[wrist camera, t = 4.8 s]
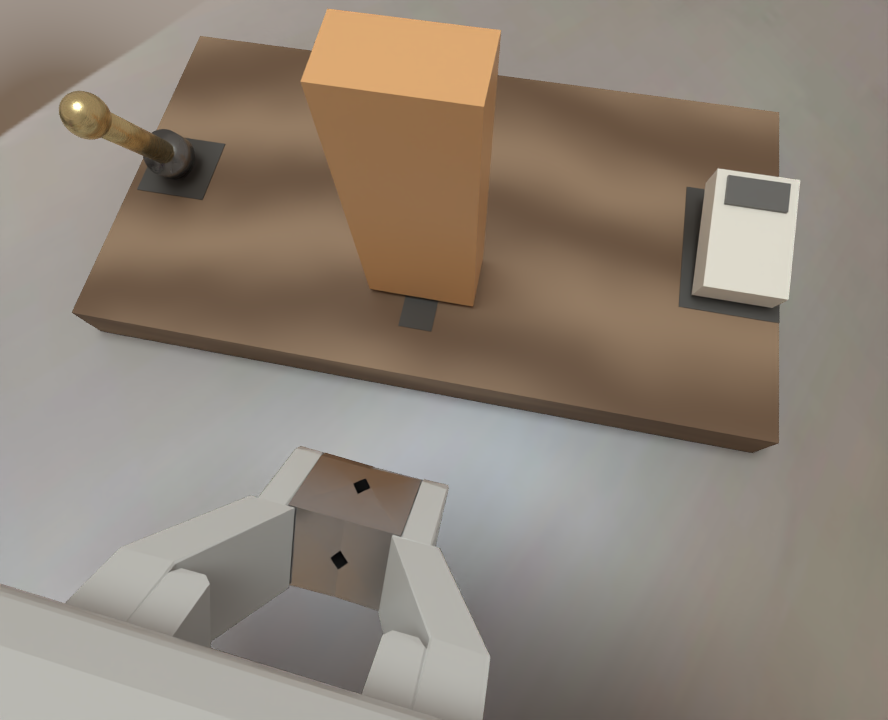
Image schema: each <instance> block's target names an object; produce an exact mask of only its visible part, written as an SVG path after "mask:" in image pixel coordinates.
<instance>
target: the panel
mask: <svg viewBox="0 0 888 720" xmlns="http://www.w3.org/2000/svg"><path fill="white" fill-rule="evenodd" d="M311 52H312V51H310V50H302V49H295V48H287V47H279V46H272V45H264V44H257V43H249V42H241V41H234V40H226V39H219V38H211V37H204V36H200V38H199V40H198V42H197V44H196V46H195V49H194V51H193V53H192V55H191V57H190V59H189V61H188V64H187V66H186V68H185V70H184V72H183V74H182V76H181V79H180V81H179V83H178V85H177V87H176V89H175V92H174V94H173V96H172V98H171V100H170V102H169V104H168V107H167V109H166V111H165V113H164V115H163V117H162V119H161V122H160V124H159V126H158V128H157V130H159V129H168V130H171V131H173V132H175V133H177V134H179V135H181V136H182V137H184V138H186V139H187V140H188V141H189V142H190V143H191V145H192V146H193V148H194V151H195V164H194V167H193V169H192V171H191V172H190V173H189V174H188V175H187V176H186V177H184V178H182V179H178V180H172V179H168V178H166V177H163V176H161V175H158V174H156V173H154V172H152V171H151V170H150V169H149V168H148V167H147V165H146V163H145V161H144V158H143V160H142V163H141V165H140V167H139V169H138V171H137V173H136V175H135V178H134V180H133V182H132V184H131V186H130V188H129V190H128V193H127V195H126V197H125V199H124V201H123V203H122V206H121V208H120V210H119V212H118V214H117V216H116V218H115V221H114V223H113V225H112V227H111V229H110V231H109V233H108V236H107V238H106V240H105V242H104V244H103V246H102V249H101V251H100V253H99V255H98V257H97V259H96V261H95V264H94V266H93V268H92V270H91V272H90V274H89V276H88V279H87V281H86V283H85V285H84V287H83V289H82V292H81V294H80V296H79V298H78V300H77V302H76V304H75V307H74V309H73V311H72V313H73V314H75V315H76V316H78V317H79V318H81V319H83V320H84V321H86V322H87V323H89V324H90V325H92V326H94V327H95V328H97V329H98V330H100V331H104V332H109V333H115V334H120V335H125V336H131V337H136V338H141V339H147V340H152V341H157V342H163V343H168V344H173V345H179V346H184V347H189V348H195V349H200V350H206V351H211V352H216V353H222V354H227V355H232V356H238V357H243V358H248V359H254V360H259V361H264V362H270V363H275V364H280V365H286V366H291V367H296V368H302V369H307V370H312V371H318V372H323V373H328V374H334V375H339V376H345V377H350V378H355V379H361V380H366V381H371V382H377V383H382V384H387V385H393V386H398V387H403V388H409V389H414V390H419V391H425V392H430V393H435V394H441V395H446V396H451V397H457V398H462V399H467V400H473V401H478V402H484V403H489V404H494V405H500V406H505V407H510V408H516V409H521V410H526V411H532V412H537V413H542V414H548V415H553V416H558V417H564V418H569V419H574V420H580V421H585V422H590V423H596V424H601V425H606V426H612V427H617V428H623V429H628V430H633V431H639V432H644V433H649V434H655V435H660V436H665V437H671V438H676V439H681V440H687V441H692V442H697V443H703V444H708V445H713V446H719V447H724V448H729V449H735V450H740V451H745V452H751V453H753V452H756V451H759V450H761V449H764V448H767V447H770V446H772V445H775V444H778V443H779V305H777V306H775V307H773V308H769V307H763V306H757V305H751V304H745V303H739V302H733V301H727V300H720V299H714V298H708V297H702V296H696V295H692V288H693V280H694V272H695V264H696V256H697V248H698V240H699V232H700V224H701V217H702V209H703V201H704V193H705V185H706V182H707V181H708V180H709V178H710V177H711V176H712V175H713V174H714V172H715V171H716V170H717V169H725V170H732V171H739V172H746V173H753V174H760V175H768V176H775V177H779V112H772V111H765V110H757V109H749V108H742V107H734V106H727V105H719V104H712V103H704V102H696V101H689V100H681V99H674V98H666V97H658V96H651V95H643V94H636V93H628V92H621V91H613V90H605V89H598V88H590V87H583V86H575V85H567V84H560V83H552V82H545V81H537V80H530V79H522V78H514V77H507V76H499V75H498V76H497V88H496V101H495V114H494V127H493V140H492V152H491V165H490V178H489V191H488V203H487V216H486V229H485V242H484V255H483V260H482V265H481V270H480V275H479V280H478V285H477V290H476V295H475V300H474V305H473V306H467V305H461V304H456V303H450V302H444V301H438V300H432V299H426V298H420V297H415V296H409V295H403V294H397V293H391V292H385V291H380V290H374V289H370V288H369V285H368V282H367V279H366V276H365V273H364V270H363V267H362V264H361V261H360V258H359V255H358V252H357V249H356V246H355V243H354V240H353V237H352V234H351V231H350V228H349V225H348V222H347V219H346V216H345V213H344V210H343V207H342V204H341V201H340V199H339V196H338V193H337V190H336V187H335V184H334V181H333V178H332V175H331V172H330V169H329V166H328V163H327V160H326V157H325V154H324V151H323V148H322V145H321V142H320V139H319V136H318V133H317V130H316V127H315V124H314V121H313V118H312V115H311V112H310V109H309V106H308V103H307V100H306V97H305V94H304V91H303V88H302V85H301V82H300V81H301V79H302V76H303V73H304V71H305V68H306V65H307V62H308V60H309V57H310V54H311Z"/></svg>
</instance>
